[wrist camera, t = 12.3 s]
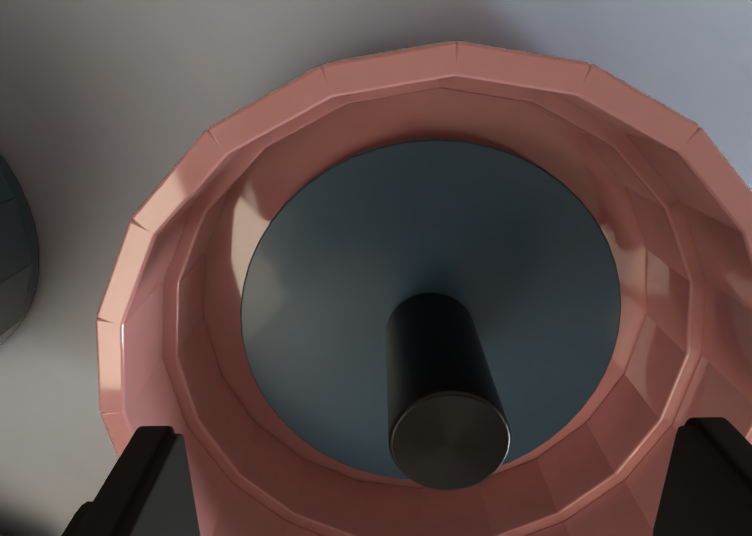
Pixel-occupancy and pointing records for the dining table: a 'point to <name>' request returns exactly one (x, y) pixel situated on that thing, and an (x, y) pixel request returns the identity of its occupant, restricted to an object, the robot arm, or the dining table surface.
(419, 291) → the lid
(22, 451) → the dining table surface
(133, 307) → the bowl
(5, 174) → the tin
